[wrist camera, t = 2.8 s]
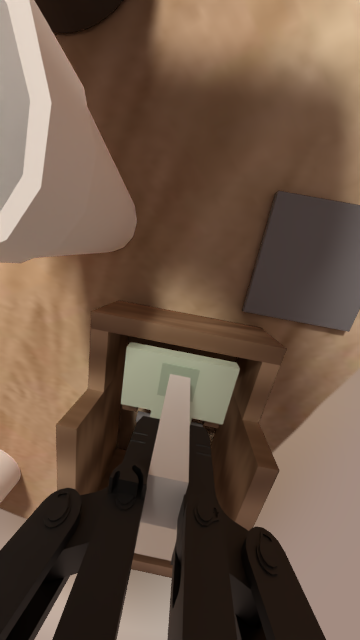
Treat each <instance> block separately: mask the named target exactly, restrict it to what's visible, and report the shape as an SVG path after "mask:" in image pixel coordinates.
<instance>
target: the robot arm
mask: <svg viewBox="0 0 360 640" xmlns="http://www.w3.org/2000/svg"><path fill="white" fill-rule="evenodd" d="M34 1H35V2H36V4H37V6H38V7H39V9H40V11H41V13H42V14H43V16H44V18H45V19H46V21H47V23H48V25H49V26H50V28H51V30H52V32H57V33H69V32H76V31H80V30H83V29H86V28H89V27H91V26H93V25H95V24H97V23H98V22H100V21H101V20H103V19H104V18H106V17H107V16H108V15H109V14H110V13H111V12H112V11H113V10H114V9H115V8H116V7H117V6H118V5H119V4H120V3H121V2H122V0H34ZM210 447H211V446H210V437H209V435H208V433H207V431H206V429H205V428H204V427H199V426H194V425H190V378H189V377H183V376H178V375H173V374H170V376H169V381H168V386H167V390H166V395H165V399H164V404H163V409H162V413H161V418H160V419H157V418H152V417H147V416H142V418H141V419H140V420H139V421H138V422H137V423H136V426H135V429H134V431H133V434H132V437H131V440H130V442H129V445H128V448H127V450H126V453H125V456H124V459H123V461H122V464H120V465H119V466H117V467H116V468H115V469H114V470H113V472H112V474H111V475H110V477H109V486H107V487H106V488H104V489H103V490H100V491H97V492H94V493H89V494H84V495H80V494H79V493H78V492H77V491H76V489H72V488H64V489H60V490H58V491H56V492H54V493H52V494H51V495H50V496H49V497H47V498H46V499H45V500H44V501H43V502H42V503H41V504H40V506H39V507H38V508H37V509H36V510H35V511H34V512H33V514H32V515H31V516H30V517H29V518H28V519H27V520H26V522H25V523H24V524H23V525H22V526H21V527H20V529H19V530H18V531H17V532H16V533H15V534H14V535H13V537H12V538H11V539H10V540H9V541H8V542H7V543H6V545H5V546H4V547H3V548H2V549H1V550H0V640H34V639H35V637H36V635H37V634H38V632H39V630H40V628H41V627H42V625H43V623H44V621H45V619H46V618H47V616H48V614H49V612H50V610H51V609H52V607H53V605H54V603H55V601H56V600H57V598H58V596H59V594H60V593H61V591H62V589H63V587H64V585H65V584H66V582H67V580H68V578H69V577H70V575H73V574H76V573H78V574H77V576H76V579H75V582H74V584H73V587H72V590H71V592H70V595H69V597H68V600H67V603H66V605H65V608H64V611H63V613H62V616H61V619H60V622H59V624H58V627H57V629H56V632H55V634H54V637H53V640H116V639H117V634H118V629H119V624H120V619H121V615H122V610H123V605H124V600H125V595H126V590H127V585H128V580H129V575H130V570H131V566H132V561H133V556H134V551H135V546H136V541H137V536H138V531H139V526H140V522H142V523H147V524H151V525H156V526H161V527H166V528H170V529H175V530H176V527H177V537H176V544H175V547H174V551H173V554H172V558H171V563H170V565H173V569H172V584H171V598H170V613H169V627H168V640H326V639H325V636H324V635H323V632H322V630H321V628H320V626H319V624H318V622H317V619H316V617H315V615H314V613H313V611H312V609H311V607H310V605H309V602H308V600H307V598H306V596H305V594H304V592H303V590H302V588H301V585H300V583H299V581H298V579H297V577H296V575H295V573H294V571H293V569H292V566H291V565H290V562H289V560H288V558H287V556H286V554H285V552H284V550H283V549H282V547H281V545H280V543H279V542H278V540H277V539H276V538H275V537H274V536H273V535H272V534H271V533H270V532H269V531H267V530H265V529H264V528H261V527H254V528H252V529H250V530H249V531H248V530H247V529H245V528H244V527H242V526H241V525H239V524H238V523H236V522H235V521H233V520H232V519H231V518H229V517H228V516H227V515H226V514H225V512H224V511H223V510H222V508H221V506H220V505H219V503H218V500H217V497H216V493H215V484H214V475H213V465H212V457H211V449H210Z"/></svg>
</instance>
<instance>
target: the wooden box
mask: <svg viewBox="0 0 360 640" xmlns="http://www.w3.org/2000/svg"><path fill="white" fill-rule="evenodd" d="M128 336H132V337H137V338H142V339H147V340H152V341H158V342H163V343H168V344H173V345H178V346H183V347H188V348H193V349H199V350H204V351H209V352H214V353H219V354H224V355H229V356H234V357H238V358H237V362H236V363H237V364H238V366H239V368H240V370H239V374H238V377H237V380H236V383H235V386H234V390H233V393H232V396H231V399H230V403H229V406H228V409H227V412H226V415H225V419H224V422H223V424H218V423H213V422H208V421H203V425H204V426H209V427H214V428H216V431H215V435H214V438H213V441H212V445H211V448H210V449H211V457H212V465H213V475H214V484H215V493H216V497H217V500H218V503H219V505H220V506H221V508H222V510H223V511H224V512H225V514H226V515H227V516H228V517H229V518H231V519H232V520H233V521H235V522H236V523H238V524H239V525H241V526H242V527H244V528H245V529H247V530H248V531H249V530H250V529H252V528H253V526H254V524H255V522H256V520H257V518H258V516H259V514H260V511H261V509H262V507H263V505H264V502H265V501H266V498H267V496H268V494H269V492H270V490H271V488H272V486H273V483H274V481H275V479H276V477H277V475H278V473H279V469H278V466H277V464H276V462H275V459H274V457H273V455H272V452H271V450H270V448H269V446H268V443H267V441H266V439H265V436H264V434H263V432H262V430H261V427H260V425H259V421H260V418H261V416H262V413H263V410H264V408H265V405H266V402H267V400H268V397H269V395H270V392H271V389H272V387H273V384H274V381H275V379H276V376H277V374H278V371H279V368H280V366H281V363H282V360H283V358H284V355H285V353H286V350H287V349H286V348H285V347H284V346H283V345H281V344H280V343H279V342H278V341H276V340H275V339H274V338H273V337H272V336H270V335H269V334H268V333H267V332H265V331H264V330H263V329H262V328H259V327H254V326H249V325H244V324H239V323H233V322H228V321H223V320H218V319H213V318H207V317H202V316H197V315H192V314H187V313H181V312H176V311H171V310H166V309H160V308H155V307H150V306H145V305H140V304H134V303H129V302H124V301H116V302H113V303H111V304H108V305H106V306H103V307H101V308H98V309H96V310H93V311H91V331H90V355H89V379H88V389H87V391H86V392H85V393H84V394H83V395H82V396H81V397H80V398H79V400H78V401H77V402H76V403H75V404H74V405H73V406H72V407H71V409H70V410H69V411H68V412H67V413H66V414H65V415H64V416H63V418H62V419H61V420H60V421H59V422H58V423H57V424H56V450H57V491H58V490H60V489H64V488H72V489H76V491H77V492H78V493H79V494H80V495H84V494H89V493H94V492H97V491H100V490H103V489H104V488H106V487H107V486H109V477H110V475H111V474H112V472H113V470H114V469H115V468H116V467H117V466H119V465H120V464H122V461H123V459H124V456H125V453H126V450H122V449H118V448H116V447H117V438H118V429H119V419H120V410H121V396H122V387H123V377H124V368H125V358H126V349H127V344H128ZM122 409H125V410H130V411H135V412H137V409H138V407H133V406H128V405H123V407H122ZM170 563H171V561H169V560H165V559H160V558H155V557H151V556H146V555H141V554H137V553H134V556H133V561H132V566H131V569H133V570H138V571H143V572H148V573H152V574H156V575H161V576H165V577H170V578H172V569H173V565H170Z"/></svg>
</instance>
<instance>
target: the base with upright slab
mask: <svg viewBox="0 0 360 640" xmlns="http://www.w3.org/2000/svg"><path fill="white" fill-rule="evenodd" d="M20 476H21V472H20V468H19V466H18V464H17V463H16V461H15V460H14V459H13V458H12V457H11V456H10V455H8V454H7V453H6V452H4V451H2V450H0V503H1V502H2V501H3V499H4V498H5V497H6V496H7V495H8V493H9V492H10V491H11V490H12V489H13V487H14V486H15V485H16V484H17V482H18V481H19V480H20Z"/></svg>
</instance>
